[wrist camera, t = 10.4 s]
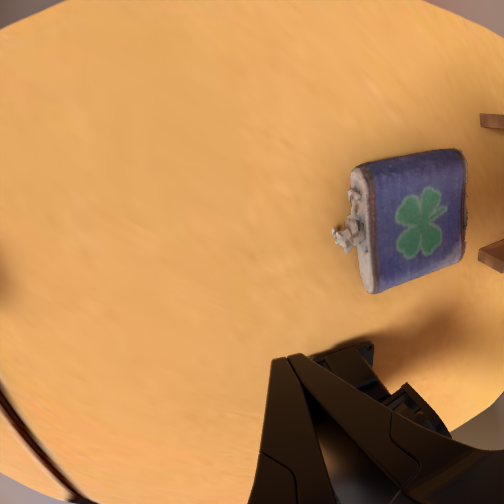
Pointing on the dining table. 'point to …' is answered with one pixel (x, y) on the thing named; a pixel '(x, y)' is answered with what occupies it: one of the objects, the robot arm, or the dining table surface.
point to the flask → (406, 216)
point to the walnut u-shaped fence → (500, 253)
